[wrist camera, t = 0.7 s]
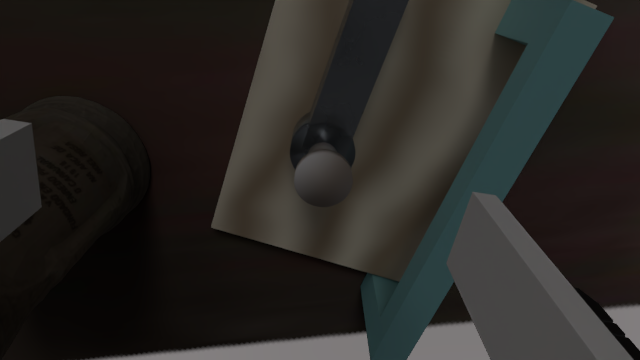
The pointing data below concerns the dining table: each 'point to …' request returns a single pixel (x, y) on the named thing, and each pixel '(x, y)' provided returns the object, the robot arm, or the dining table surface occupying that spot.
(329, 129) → the swing link
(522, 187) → the dining table surface
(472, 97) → the pivot plate
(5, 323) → the beer stein
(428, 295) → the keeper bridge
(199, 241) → the dining table surface
